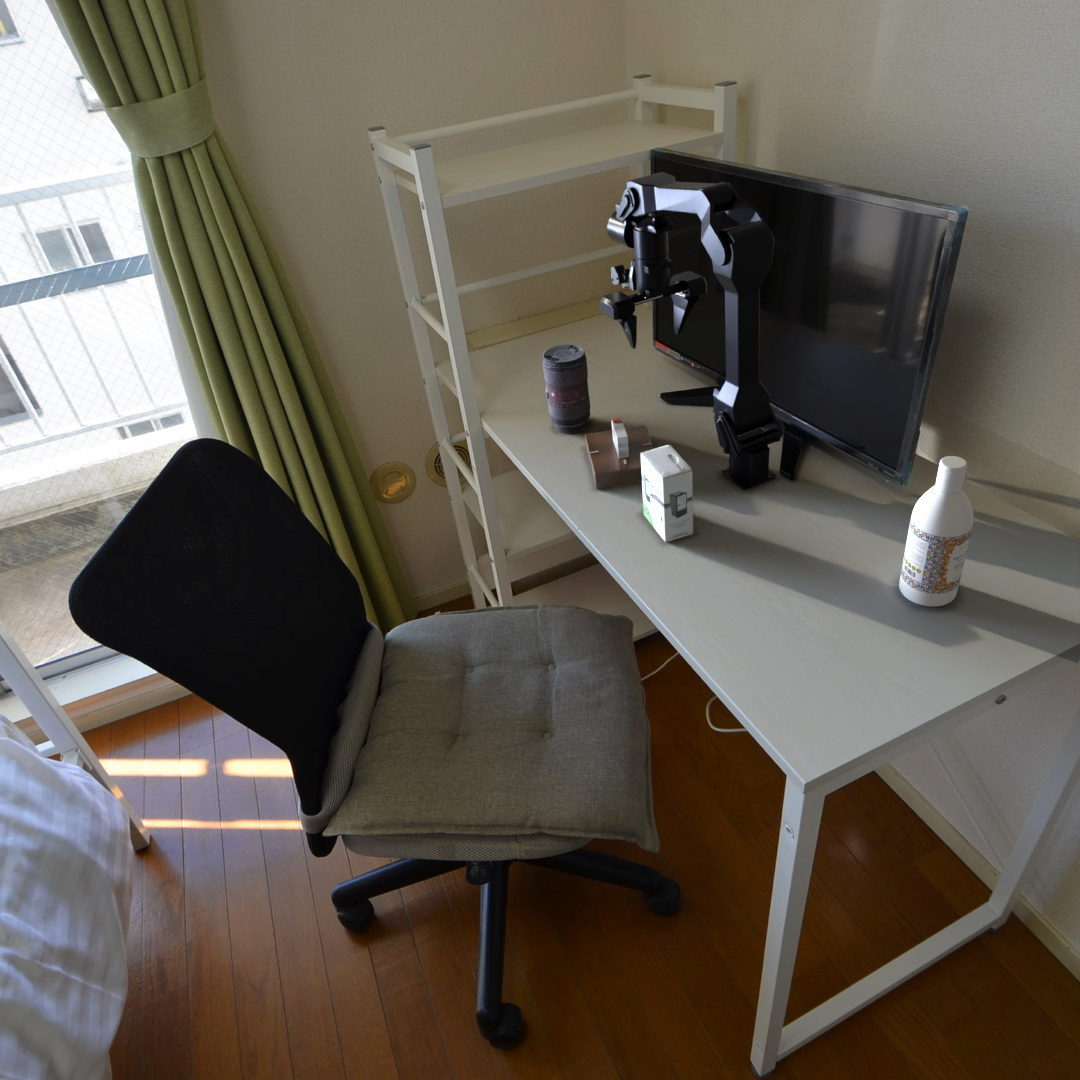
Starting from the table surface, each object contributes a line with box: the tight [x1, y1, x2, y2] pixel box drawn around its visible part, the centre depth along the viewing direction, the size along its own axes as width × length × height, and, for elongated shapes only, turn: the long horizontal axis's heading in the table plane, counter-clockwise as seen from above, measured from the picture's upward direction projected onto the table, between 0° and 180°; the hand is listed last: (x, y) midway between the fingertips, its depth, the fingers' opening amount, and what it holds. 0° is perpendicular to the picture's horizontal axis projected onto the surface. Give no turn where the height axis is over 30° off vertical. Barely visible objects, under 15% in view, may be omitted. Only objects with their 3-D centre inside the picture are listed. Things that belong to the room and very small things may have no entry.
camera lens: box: [542, 343, 591, 434], centre depth 150 cm, size 8×8×15 cm
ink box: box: [641, 444, 694, 543], centre depth 122 cm, size 9×5×12 cm, turn 18°
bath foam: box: [898, 455, 975, 608], centre depth 100 cm, size 7×7×20 cm
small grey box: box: [610, 417, 629, 458], centre depth 138 cm, size 6×2×4 cm, turn 4°
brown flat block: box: [584, 424, 655, 490], centre depth 140 cm, size 14×11×3 cm
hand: (655, 340), depth 146 cm, fingers open, 9 cm apart
